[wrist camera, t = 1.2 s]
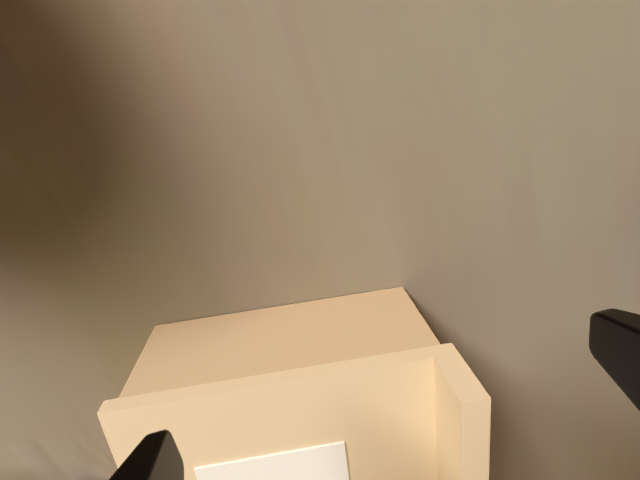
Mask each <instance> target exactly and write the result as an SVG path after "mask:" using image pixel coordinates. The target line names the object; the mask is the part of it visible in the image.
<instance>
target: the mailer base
mask: <svg viewBox="0 0 640 480" xmlns="http://www.w3.org/2000/svg"><path fill="white" fill-rule="evenodd" d="M435 345H441V344H440V343H439V341H438V340H437V338H436V337H435V335H434V334H433V332H432V331H431V329H430V327H429V326H428V324H427V323H426V321H425V320H424V318H423V317H422V315H421V314H420V312H419V311H418V309H417V308H416V306H415V305H414V303H413V302H412V300H411V299H410V297H409V296H408V294H407V293H406V291H405V290H404V288H403V287H397V288H391V289H385V290H378V291H372V292H366V293H359V294H353V295H347V296H340V297H334V298H328V299H321V300H315V301H309V302H302V303H296V304H289V305H283V306H277V307H270V308H264V309H258V310H251V311H245V312H239V313H232V314H226V315H220V316H213V317H207V318H201V319H194V320H188V321H182V322H175V323H169V324H162V325H156V326H155V327H154V329H153V331H152V333H151V335H150V337H149V339H148V341H147V343H146V345H145V347H144V349H143V351H142V353H141V355H140V357H139V359H138V361H137V363H136V365H135V366H134V368H133V370H132V372H131V374H130V376H129V378H128V380H127V382H126V384H125V386H124V388H123V390H122V392H121V394H120V396H119V398H122V397H128V396H134V395H140V394H146V393H152V392H158V391H164V390H170V389H176V388H182V387H188V386H194V385H200V384H206V383H212V382H218V381H224V380H230V379H237V378H243V377H249V376H255V375H261V374H267V373H273V372H279V371H285V370H291V369H297V368H303V367H309V366H315V365H321V364H327V363H333V362H339V361H345V360H351V359H357V358H363V357H369V356H375V355H381V354H387V353H393V352H399V351H405V350H411V349H417V348H423V347H429V346H435Z"/></svg>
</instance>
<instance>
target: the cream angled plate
mask: <svg viewBox="0 0 640 480" xmlns="http://www.w3.org/2000/svg"><path fill="white" fill-rule="evenodd" d="M97 416H98V418H99V421H100V423H101V426H102V429H103V431H104V434H105V436H106V439H107V442H108V444H109V447H110V449H111V452H112V454H113V457H114V460H115V462H116V465H117V467H118V468H119V467H120V466H121V464H122V463H123V462H124V461H125V460H126V458H127V457H128V456H129V455H130V454H131V452H132V451H133V450H134V449H135V448H136V446H137V445H138V444H139V443H140V442H141V440H142V439H143V438H144V437H145V436H146V435H148V434H150V433H154V432H157V431H161V430H165V429H166V430H169V431H170V432H171V434H172V436H173V438H174V441H175V443H176V445H177V448H178V450H179V452H180V455H181V457H182V460H183V464H184V480H489V457H490V422H491V397H490V396H489V394H488V393H487V392H486V390H485V389H484V387H483V386H482V385H481V383H480V382H479V380H478V379H477V378H476V376H475V375H474V373H473V372H472V371H471V369H470V368H469V366H468V365H467V363H466V362H465V361H464V359H463V358H462V356H461V355H460V354H459V352H458V351H457V349H456V348H455V347H454V345H453V344H452V343H447V344H441V345H435V346H429V347H423V348H417V349H411V350H405V351H399V352H393V353H387V354H381V355H375V356H369V357H363V358H357V359H351V360H345V361H339V362H333V363H327V364H321V365H315V366H309V367H303V368H297V369H291V370H285V371H279V372H273V373H267V374H261V375H255V376H249V377H243V378H237V379H230V380H224V381H218V382H212V383H206V384H200V385H194V386H188V387H182V388H176V389H170V390H164V391H158V392H152V393H146V394H140V395H134V396H128V397H122V398H116V399H110V400H104V402H103V404H102V405H101V407H100V409H99V411H98V413H97Z"/></svg>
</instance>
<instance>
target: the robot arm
mask: <svg viewBox="0 0 640 480" xmlns="http://www.w3.org/2000/svg"><path fill="white" fill-rule="evenodd" d="M589 348H590V351H591V353H592V355H593V356H594V358H595V359H596V360H597V361H598V362H599V364H600V365H601V366H602V367H603V368H604V369H605V371H606V372H607V373H608V374H609V375H610V377H611V378H612V379H613V380H614V381H615V382H616V384H617V385H618V386H619V387H620V388H621V390H622V391H623V392H624V393H625V394H626V395H627V397H628V398H629V399H630V400H631V401H632V403H633V404H634V405H635V406H636V407H637V408H638V409H639V411H640V315H639V314H635V313H631V312H626V311H622V310H618V309H606V310H602V311H599V312H595V313H594V314H592V316H591V318H590V331H589ZM109 480H184V464H183V460H182V457H181V455H180V452H179V450H178V448H177V445H176V443H175V441H174V438H173V436H172V434H171V432H170V431H169V430H166V429H165V430H161V431H157V432H154V433H150V434H148V435H146V436H145V437H144V438H143V439H142V440H141V442H140V443H139V444H138V445H137V446H136V448H135V449H134V450H133V451H132V452H131V454H130V455H129V456H128V457H127V458H126V460H125V461H124V462H123V463H122V464H121V466H120V467H119V468H118V469H117V470H116V472H115V473H114V474H113V475H112V476H111V478H110V479H109Z"/></svg>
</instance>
